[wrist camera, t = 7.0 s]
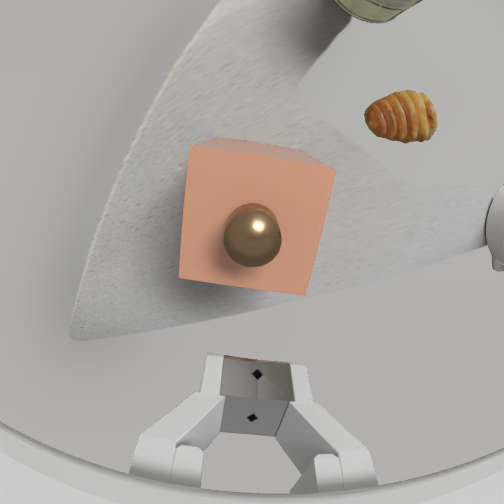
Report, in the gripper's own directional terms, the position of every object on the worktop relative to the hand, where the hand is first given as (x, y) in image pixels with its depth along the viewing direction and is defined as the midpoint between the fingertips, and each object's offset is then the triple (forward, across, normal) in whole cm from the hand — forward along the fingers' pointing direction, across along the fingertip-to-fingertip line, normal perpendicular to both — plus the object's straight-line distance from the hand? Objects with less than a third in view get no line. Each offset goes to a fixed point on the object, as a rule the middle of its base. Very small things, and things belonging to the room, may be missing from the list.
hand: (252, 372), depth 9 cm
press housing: (+30, 0, 0) cm, 30 cm away
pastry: (+30, -17, -12) cm, 37 cm away
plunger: (+24, 0, 0) cm, 24 cm away
